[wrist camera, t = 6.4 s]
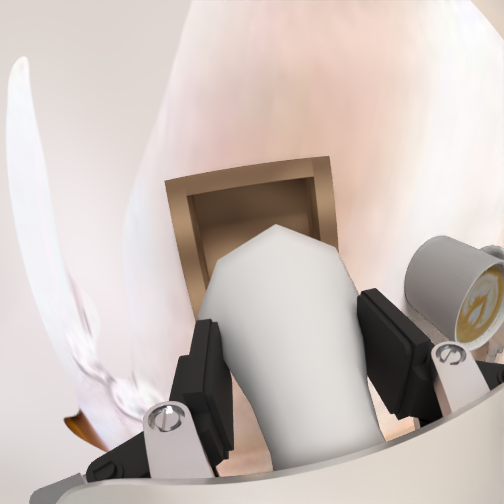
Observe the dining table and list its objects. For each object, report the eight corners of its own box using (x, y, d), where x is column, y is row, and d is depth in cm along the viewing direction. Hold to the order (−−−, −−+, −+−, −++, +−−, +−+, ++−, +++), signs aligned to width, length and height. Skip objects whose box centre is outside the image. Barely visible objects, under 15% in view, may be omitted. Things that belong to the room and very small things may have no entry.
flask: (379, 289, 13) (515, 425, 4) (284, 385, 15) (324, 552, 5) (272, 192, 12) (421, 289, 2) (171, 315, 13) (109, 516, 4)
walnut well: (326, 285, 30) (340, 304, 25) (202, 306, 29) (197, 329, 25) (313, 157, 26) (329, 156, 22) (175, 178, 26) (164, 180, 21)
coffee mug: (407, 323, 32) (450, 367, 22) (399, 252, 29) (455, 285, 20) (477, 283, 32) (524, 312, 22) (475, 217, 29) (531, 236, 19)
